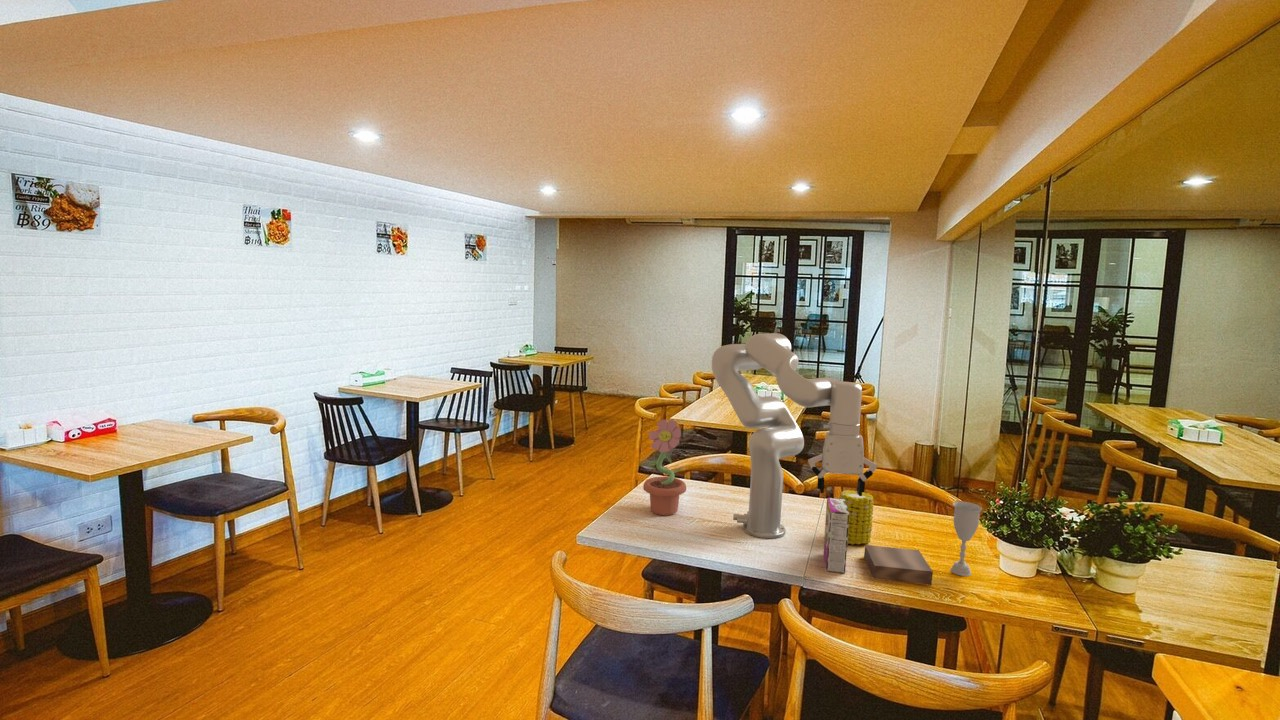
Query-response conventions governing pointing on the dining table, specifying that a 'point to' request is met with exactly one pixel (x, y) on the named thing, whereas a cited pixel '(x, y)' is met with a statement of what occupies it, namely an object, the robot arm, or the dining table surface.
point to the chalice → (965, 531)
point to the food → (858, 516)
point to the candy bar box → (836, 535)
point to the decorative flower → (664, 471)
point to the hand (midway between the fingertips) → (840, 493)
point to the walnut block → (897, 564)
